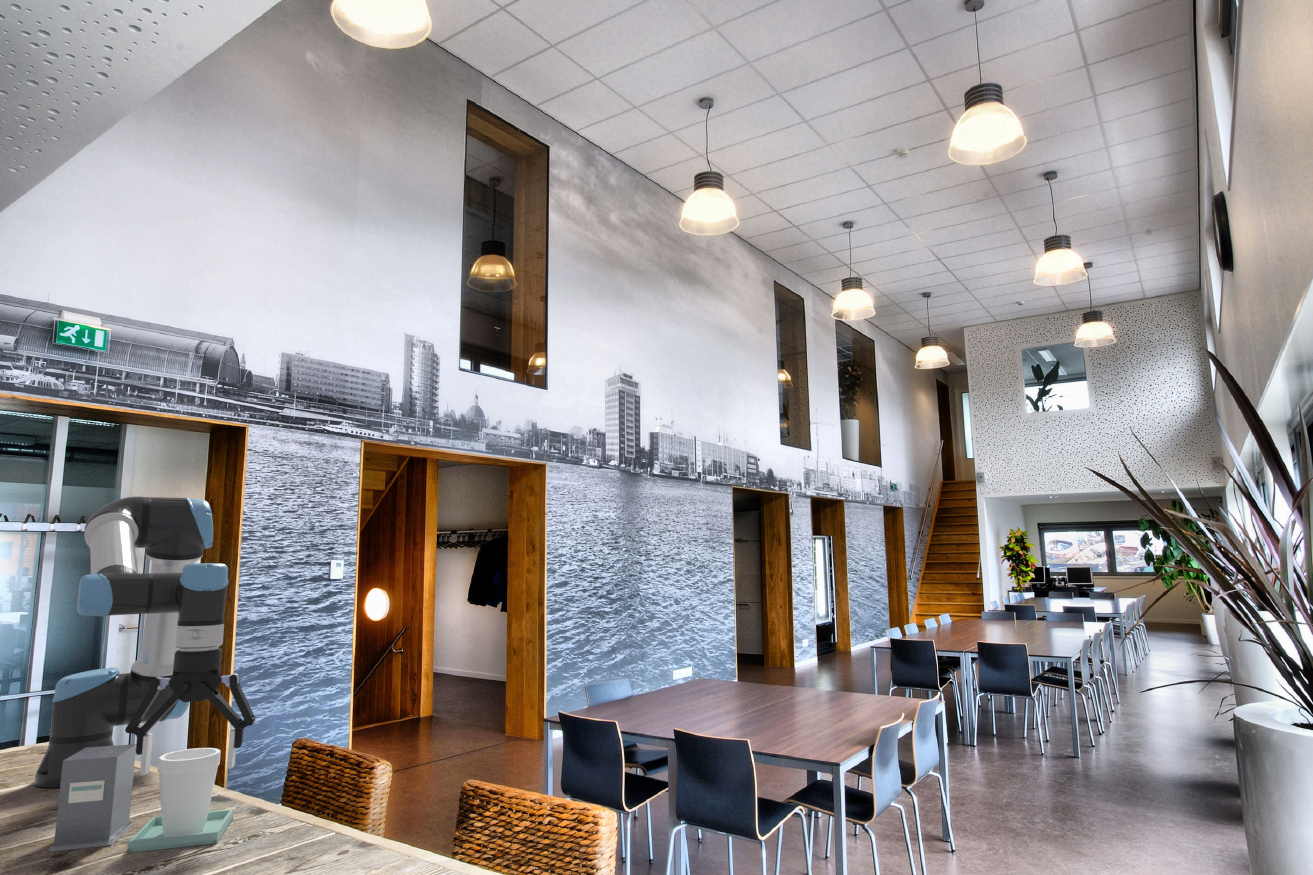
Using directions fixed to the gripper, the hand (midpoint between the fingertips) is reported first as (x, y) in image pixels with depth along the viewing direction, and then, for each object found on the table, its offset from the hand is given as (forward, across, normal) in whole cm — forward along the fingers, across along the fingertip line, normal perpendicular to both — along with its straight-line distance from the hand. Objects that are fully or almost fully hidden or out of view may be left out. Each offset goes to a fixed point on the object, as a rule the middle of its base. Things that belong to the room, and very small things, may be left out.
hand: (188, 770), depth 138 cm
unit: (+11, -15, +3) cm, 19 cm away
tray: (+11, 0, -1) cm, 11 cm away
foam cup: (+10, 0, 0) cm, 10 cm away
